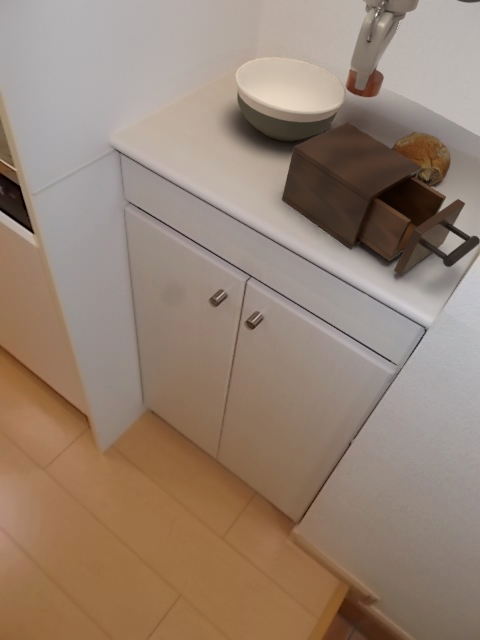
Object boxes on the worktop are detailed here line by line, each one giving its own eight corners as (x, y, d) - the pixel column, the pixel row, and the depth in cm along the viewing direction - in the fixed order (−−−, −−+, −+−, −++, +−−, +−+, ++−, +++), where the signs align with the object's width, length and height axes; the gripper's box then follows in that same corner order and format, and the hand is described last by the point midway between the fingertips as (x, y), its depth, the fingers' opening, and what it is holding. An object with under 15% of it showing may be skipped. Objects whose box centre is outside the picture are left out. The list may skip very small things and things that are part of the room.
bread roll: (438, 191, 92) (461, 146, 89) (433, 195, 84) (459, 146, 80) (386, 169, 95) (407, 125, 91) (376, 171, 86) (399, 122, 83)
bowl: (293, 94, 101) (303, 51, 95) (354, 145, 92) (369, 101, 86) (210, 110, 93) (214, 64, 87) (267, 168, 84) (276, 120, 78)
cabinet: (398, 217, 80) (421, 166, 73) (350, 249, 74) (370, 196, 67) (331, 173, 85) (347, 122, 79) (281, 199, 79) (293, 146, 72)
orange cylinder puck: (359, 77, 94) (363, 62, 92) (385, 91, 92) (390, 77, 90) (338, 85, 91) (342, 70, 89) (365, 100, 89) (369, 85, 87)
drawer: (470, 262, 74) (496, 221, 68) (429, 296, 68) (454, 255, 63) (375, 199, 81) (391, 157, 75) (330, 225, 75) (344, 183, 70)
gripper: (398, 16, 73) (368, 110, 83) (423, -24, 85) (394, 62, 96) (355, 4, 74) (331, 99, 84) (385, -33, 86) (361, 53, 97)
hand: (365, 79), depth 90 cm, fingers closed on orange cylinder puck, 6 cm apart
